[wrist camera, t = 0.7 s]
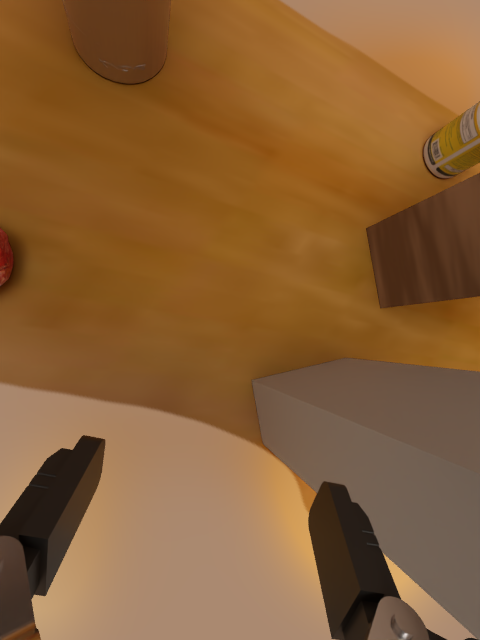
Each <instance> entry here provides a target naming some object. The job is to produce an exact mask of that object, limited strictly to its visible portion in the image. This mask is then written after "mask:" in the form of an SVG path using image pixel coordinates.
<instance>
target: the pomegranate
mask: <svg viewBox="0 0 480 640" xmlns="http://www.w3.org/2000/svg"><path fill="white" fill-rule="evenodd" d="M12 267H13V253H12V250H11V247H10V244H9V242H8V236H7V234H6V233H5V232H4V231H3V230H2V229H1V228H0V286H1V285H2V284H3V283H5V282H6V281H7V280H8V279H9V277H10V274H11V271H12Z"/></svg>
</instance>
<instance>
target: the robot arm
mask: <svg viewBox="0 0 480 640" xmlns="http://www.w3.org/2000/svg"><path fill="white" fill-rule="evenodd" d="M63 3H64V7H65V11H66V16H67V20H68V24H69V28H70V32H71V36H72V39H73V43H74V46H75V48H76V50H77V52H78V53H79V55H80V57H81V58H82V59H83V60H84V62H85V63H86V64H87V65H88V66H89V67H90V68H91V69H93V70H94V71H95V72H96V73H98V74H100V75H101V76H103V77H105V78H107V79H110V80H112V81H115V82H120V83H129V84H135V83H140V82H144V81H146V80H148V79H150V78H152V77H153V76H155V75H156V74H157V73H158V72H159V71H160V69H161V68H162V67H163V64H164V62H165V59H166V53H167V43H168V30H169V19H170V5H171V0H63ZM104 449H105V439H101V438H96V437H90V436H85V435H83V436H82V437H81V438H80V440H79V441H78V443H77V444H76V446H75V447H74V449H73V450H70V449H63V448H62V449H60V450H58V451H57V452H56V453H54V454H53V455H51V456H50V457H49V458H47V460H46V461H45V462H44V464H43V465H42V467H41V468H40V469H39V471H38V472H37V475H35V476H34V478H33V479H32V481H31V482H30V484H29V486H27V487H26V489H25V490H24V492H23V493H22V495H21V496H20V497H19V499H18V500H17V501H16V503H15V504H14V506H13V507H12V508H11V510H10V511H9V513H8V514H7V515H6V517H5V518H4V520H3V521H2V522H1V524H0V640H41V639H40V634H39V631H38V629H37V628H36V625H35V620H34V614H33V607H32V601H31V599H32V598H33V595H41V596H46V594H47V592H48V589H49V587H50V585H51V583H52V581H53V579H54V577H55V575H56V573H57V571H58V568H59V566H60V564H61V562H62V560H63V558H64V556H65V554H66V552H67V550H68V548H69V546H70V543H71V541H72V539H73V537H74V535H75V533H76V531H77V529H78V527H79V524H80V522H81V520H82V518H83V516H84V514H85V512H86V510H87V508H88V506H89V504H90V502H91V500H92V497H93V495H94V493H95V491H96V489H97V486H98V483H99V480H100V477H101V473H102V466H103V457H104ZM308 521H309V531H310V536H311V540H312V545H313V550H314V555H315V560H316V565H317V570H318V574H319V579H320V584H321V589H322V594H323V599H324V603H325V608H326V613H327V618H328V623H329V627H330V632H331V637H332V639H338V640H446V639H445V638H443V637H441V636H439V635H437V634H435V633H433V632H431V631H430V630H428V629H426V627H425V625H424V623H423V622H422V620H421V618H420V617H419V616H418V614H417V613H416V612H415V611H414V610H413V609H412V608H411V607H410V606H409V605H408V604H407V603H405V602H404V601H402V600H401V598H400V596H399V593H398V591H397V588H396V586H395V583H394V581H393V578H392V575H391V573H390V571H389V568H388V565H387V563H386V561H385V558H384V555H383V553H382V550H381V548H379V543H378V540H377V538H376V535H374V530H373V528H372V525H371V523H370V520H369V518H368V516H367V515H366V513H365V512H364V511H363V509H362V508H361V507H360V505H359V504H358V503H355V502H352V501H351V498H350V495H349V493H348V490H347V488H346V486H345V485H343V484H337V483H332V482H327V481H324V482H323V483H322V484H321V486H320V488H319V491H318V493H317V495H316V497H315V500H314V502H313V504H312V506H311V509H310V512H309V520H308ZM465 640H478V639H474V638H467V639H465Z"/></svg>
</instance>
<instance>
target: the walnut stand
mask: <svg viewBox="0 0 480 640" xmlns="http://www.w3.org/2000/svg"><path fill="white" fill-rule="evenodd" d="M366 230H367V236H368V241H369V247H370V252H371V258H372V263H373V269H374V275H375V280H376V286H377V291H378V297H379V302H380V308H386V307H394V306H403V305H411V304H419V303H428V302H436V301H444V300H452V299H461V298H469V297H477V296H480V173H479V174H477V175H475V176H473V177H470V178H468V179H466V180H464V181H462V182H460V183H458V184H456V185H454V186H452V187H450V188H448V189H446V190H444V191H442V192H440V193H438V194H436V195H434V196H432V197H430V198H428V199H426V200H423V201H421V202H419V203H417V204H415V205H413V206H411V207H409V208H407V209H405V210H403V211H401V212H399V213H397V214H395V215H393V216H391V217H389V218H387V219H385V220H383V221H381V222H379V223H377V224H374V225H372V226H370V227H368V228H366Z"/></svg>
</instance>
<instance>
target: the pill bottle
mask: <svg viewBox="0 0 480 640" xmlns="http://www.w3.org/2000/svg"><path fill="white" fill-rule="evenodd" d="M424 159H425V162H426V165H427V167H428V168H429V170H430V171H431V172H432V173H433V174H434V175H436V176H437V177H440V178H450V177H453V176H455V175H457V174H459V173H461V172H463V171H465V170H466V169H468V168H470V167H472V166H474V165H476V164H478V163H480V101H479V102H478V103H477V104H475V105H474V106H472V107H471V108H470V109H468V110H467V111H465V112H464V113H463V114H461V115H460V116H458V117H457V118H456V119H454V120H453V121H451V122H450V123H449V124H447V125H446V126H444V127H443V128H442V129H440V130H439V131H437V132H436V133H435V134H433V135H432V136H431V137H430V138H429V139H428V140H427V142H426V144H425V147H424Z"/></svg>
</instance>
